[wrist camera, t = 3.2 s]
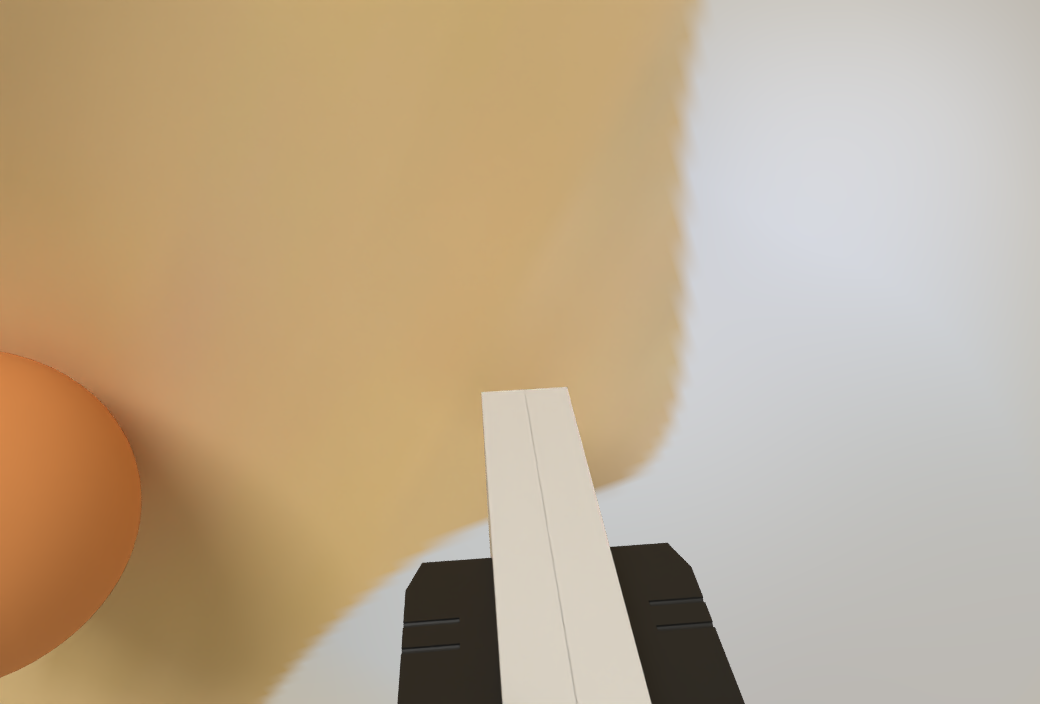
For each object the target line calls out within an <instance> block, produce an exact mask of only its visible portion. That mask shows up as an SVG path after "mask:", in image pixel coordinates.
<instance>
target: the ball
mask: <svg viewBox="0 0 1040 704" xmlns="http://www.w3.org/2000/svg"><path fill="white" fill-rule="evenodd" d="M140 516H141V485H140V477H139V473H138V469H137V465H136V461H135V457H134V454H133V451H132V449H131V446H130V444H129V442H128V439H127V438H126V436H125V434H124V433H123V431H122V429H121V428H120V426H119V424H118V423H117V421H116V420H115V419H114V417H113V416H112V415H111V414H110V412H109V411H108V410H107V408H106V407H105V406H104V405H103V404H102V403H101V402H100V401H99V400H98V399H97V398H96V397H95V396H94V395H93V394H91V393H90V392H89V391H88V390H86V389H85V388H84V387H83V386H82V385H80V384H79V383H77V382H75V381H74V380H72V379H71V378H69V377H68V376H66V375H64V374H63V373H61V372H59V371H57V370H55V369H53V368H51V367H49V366H46V365H44V364H41V363H39V362H36V361H34V360H31V359H28V358H24V357H21V356H17V355H14V354H9V353H4V352H0V678H1V677H3V676H5V675H8V674H10V673H12V672H15V671H17V670H19V669H21V668H23V667H25V666H27V665H29V664H31V663H33V662H34V661H36V660H37V659H39V658H41V657H42V656H44V655H46V654H47V653H49V652H50V651H52V650H53V649H55V648H56V647H57V646H59V645H60V644H62V643H63V642H64V641H65V640H67V639H68V638H69V637H70V636H71V635H73V634H74V633H75V632H76V631H77V630H78V629H79V628H81V627H82V626H83V625H84V624H85V623H86V622H87V621H88V620H89V619H90V618H91V617H92V615H93V614H94V613H95V612H96V611H97V610H98V609H99V608H100V606H101V605H102V604H103V603H104V601H105V600H106V598H107V597H108V596H109V594H110V593H111V592H112V590H113V588H114V587H115V585H116V584H117V582H118V581H119V579H120V577H121V575H122V573H123V571H124V569H125V567H126V565H127V563H128V560H129V558H130V556H131V553H132V551H133V548H134V544H135V541H136V537H137V533H138V528H139V523H140Z"/></svg>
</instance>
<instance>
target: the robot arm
mask: <svg viewBox="0 0 1040 704" xmlns="http://www.w3.org/2000/svg"><path fill="white" fill-rule="evenodd" d="M481 393H482V412H483V430H484V449H485V468H486V486H487V505H488V522H489V537H490V553H491V558H483V559H470V560H456V561H441V562H427V563H422V564H421V566H420V568H419V569H418V571H417V573H416V574H415V576H414V578H413V579H412V581H411V583H410V585H409V586H408V588H407V589H406V593H405V607H404V621H403V623H404V628H403V635H402V654H401V663H400V678H399V691H398V704H745V703H744V700H743V698H742V696H741V693H740V690H739V688H738V685H737V683H736V680H735V678H734V675H733V673H732V670H731V667H730V665H729V662H728V660H727V657H726V655H725V652H724V649H723V647H722V644H721V642H720V639H719V637H718V634H717V631H716V629H715V627H713V624H712V619H711V616H710V614H709V611H708V608H707V606H706V604H705V602H703V596H702V593H701V590H700V588H699V585H698V583H697V580H696V578H695V575H694V573H693V570H692V567H691V566H690V565H689V564H688V563H687V562H686V561H685V560H684V559H683V558H682V557H681V556H680V555H679V554H678V553H677V552H676V551H675V550H674V549H673V548H672V547H671V546H670V545H669V544H668V543H658V544H645V545H632V546H617V547H610V546H609V543H608V539H607V535H606V531H605V528H604V524H603V520H602V517H601V513H600V509H599V505H598V501H597V498H596V494H595V490H594V486H593V483H592V479H591V475H590V471H589V468H588V464H587V460H586V456H585V453H584V449H583V445H582V441H581V438H580V434H579V430H578V426H577V423H576V419H575V415H574V411H573V408H572V404H571V400H570V396H569V393H568V389H567V387H559V388H542V389H526V390H509V391H492V392H481Z"/></svg>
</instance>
